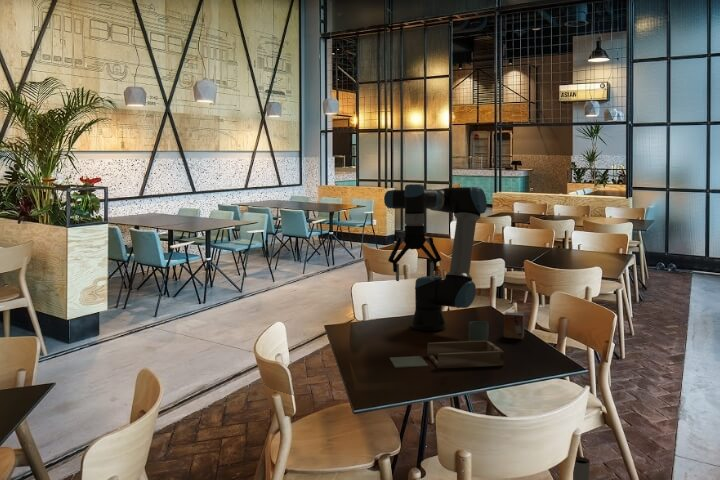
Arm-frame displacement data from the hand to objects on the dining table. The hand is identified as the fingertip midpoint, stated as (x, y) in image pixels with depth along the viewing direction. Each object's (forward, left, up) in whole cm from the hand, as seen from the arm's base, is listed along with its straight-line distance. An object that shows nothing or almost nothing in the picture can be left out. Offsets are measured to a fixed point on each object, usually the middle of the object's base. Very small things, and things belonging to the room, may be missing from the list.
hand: (414, 280), depth 227 cm
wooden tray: (+12, +16, -29) cm, 35 cm away
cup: (-5, +27, -29) cm, 40 cm away
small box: (-18, +47, -29) cm, 58 cm away
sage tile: (+11, -5, -29) cm, 31 cm away
